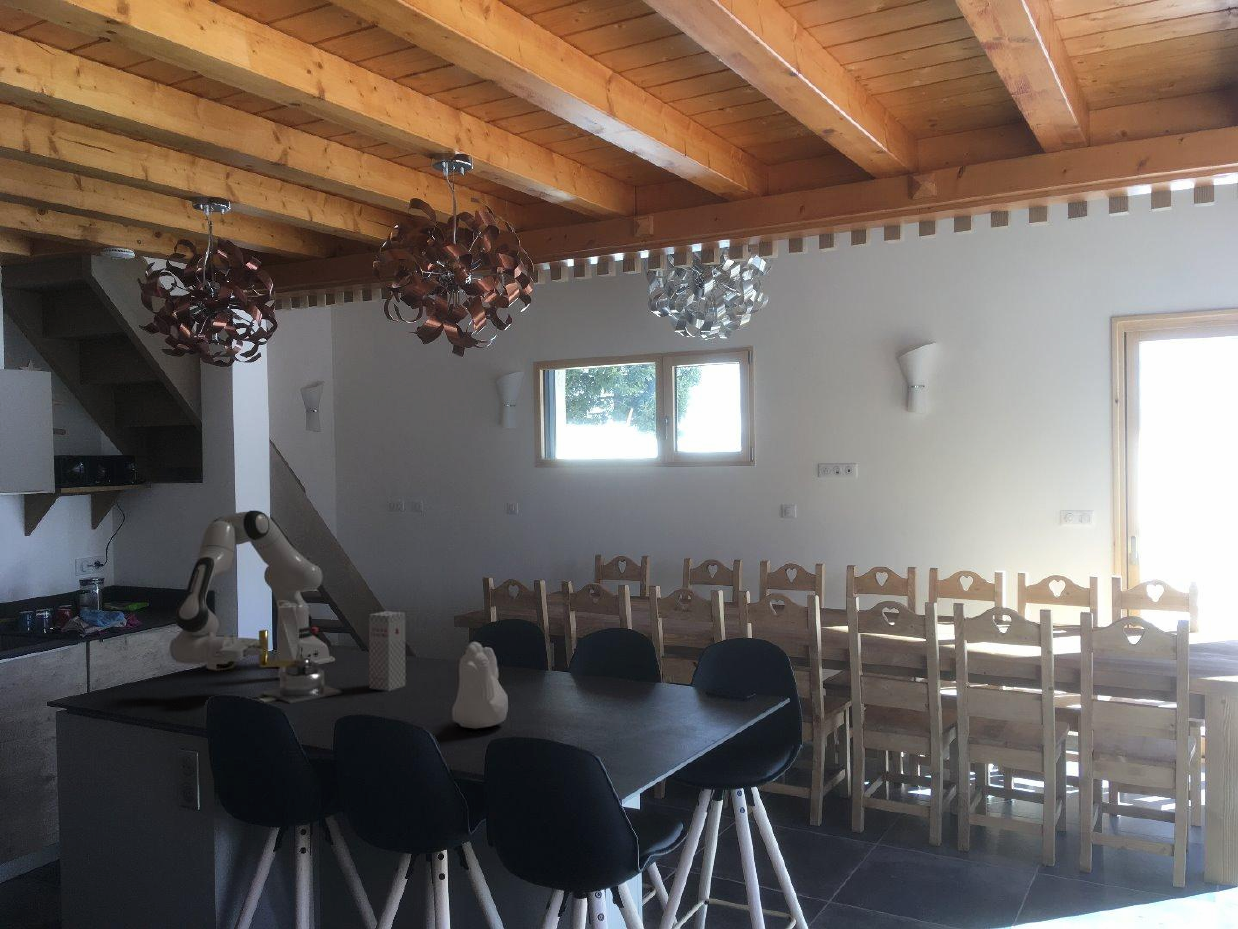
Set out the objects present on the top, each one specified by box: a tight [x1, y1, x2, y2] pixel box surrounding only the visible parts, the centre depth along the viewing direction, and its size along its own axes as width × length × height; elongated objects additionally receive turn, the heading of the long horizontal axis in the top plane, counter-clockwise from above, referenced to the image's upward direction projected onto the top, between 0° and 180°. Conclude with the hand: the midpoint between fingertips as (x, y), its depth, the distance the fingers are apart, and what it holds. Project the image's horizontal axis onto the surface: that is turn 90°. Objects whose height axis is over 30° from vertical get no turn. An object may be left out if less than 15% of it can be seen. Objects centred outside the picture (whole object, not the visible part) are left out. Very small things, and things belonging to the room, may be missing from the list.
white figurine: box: [451, 641, 509, 729], centre depth 286 cm, size 25×16×25 cm, turn 159°
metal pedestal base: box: [262, 668, 342, 704], centre depth 324 cm, size 18×18×7 cm
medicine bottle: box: [206, 635, 235, 672], centre depth 366 cm, size 7×7×12 cm
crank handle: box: [258, 629, 319, 675], centre depth 323 cm, size 18×10×14 cm, turn 105°
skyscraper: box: [276, 600, 304, 680], centre depth 349 cm, size 8×8×28 cm
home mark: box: [258, 696, 277, 703], centre depth 316 cm, size 4×4×1 cm
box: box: [368, 610, 406, 692], centre depth 334 cm, size 8×8×25 cm
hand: (264, 649), depth 321 cm, fingers open, 4 cm apart
